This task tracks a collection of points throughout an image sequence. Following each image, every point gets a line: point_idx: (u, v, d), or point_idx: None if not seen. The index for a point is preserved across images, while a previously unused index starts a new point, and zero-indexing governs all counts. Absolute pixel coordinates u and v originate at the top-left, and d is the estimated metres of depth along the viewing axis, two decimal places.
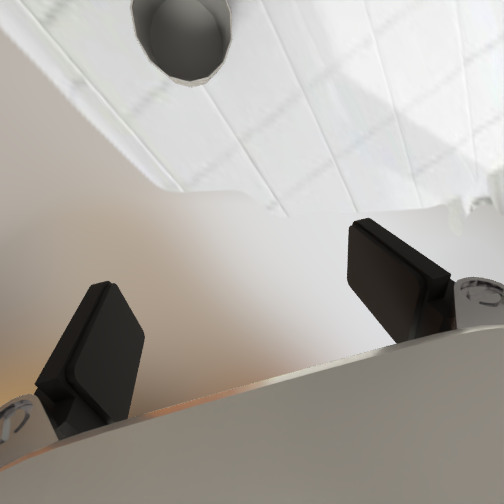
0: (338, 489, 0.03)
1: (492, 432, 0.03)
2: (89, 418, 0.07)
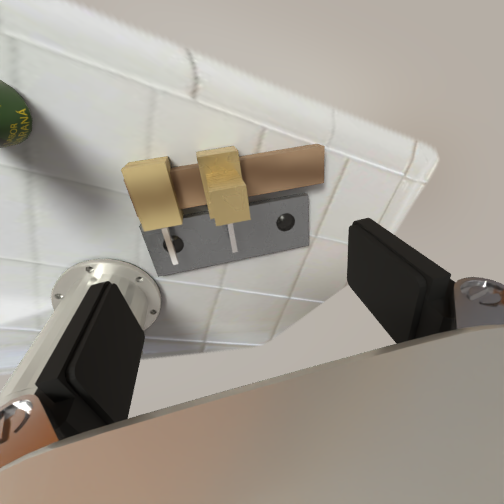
0: (338, 489, 0.03)
1: (492, 432, 0.03)
2: (89, 418, 0.07)
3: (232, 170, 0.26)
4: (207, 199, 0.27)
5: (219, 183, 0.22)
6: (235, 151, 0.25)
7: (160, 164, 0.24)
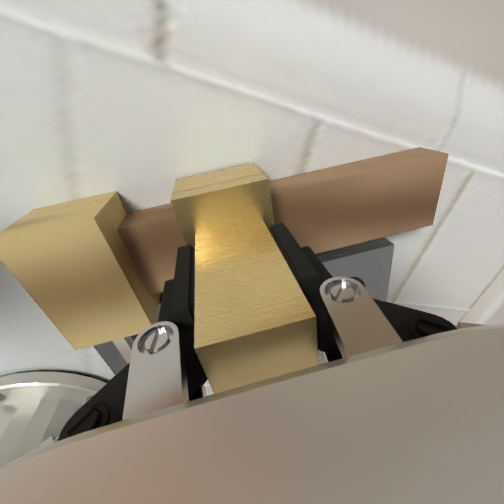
0: (338, 489, 0.03)
1: (492, 432, 0.03)
2: None
3: (254, 221, 0.11)
4: None
5: (227, 288, 0.08)
6: (262, 181, 0.11)
7: (83, 223, 0.10)
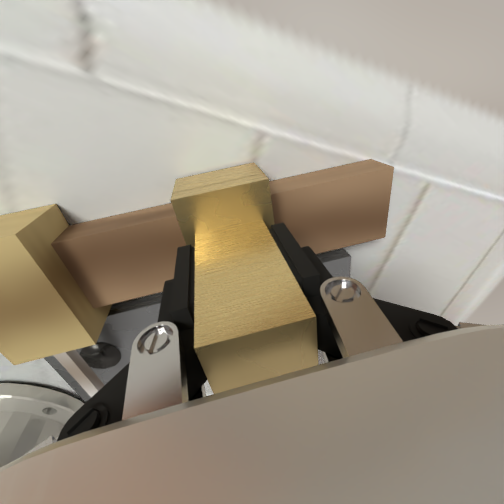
0: (338, 489, 0.03)
1: (492, 432, 0.03)
2: None
3: (254, 221, 0.11)
4: None
5: (227, 288, 0.08)
6: (262, 181, 0.11)
7: (5, 239, 0.10)
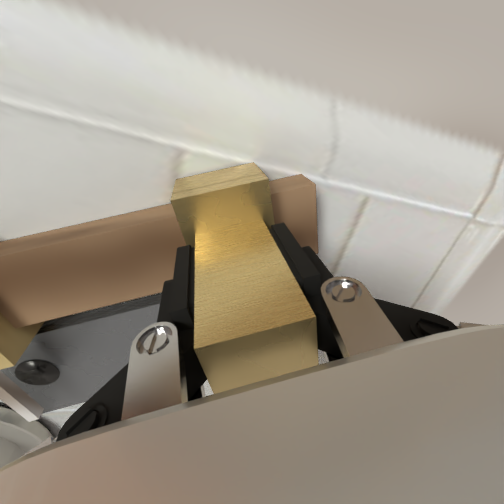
0: (338, 489, 0.03)
1: (492, 432, 0.03)
2: None
3: (254, 221, 0.11)
4: None
5: (227, 288, 0.08)
6: (262, 180, 0.11)
7: None
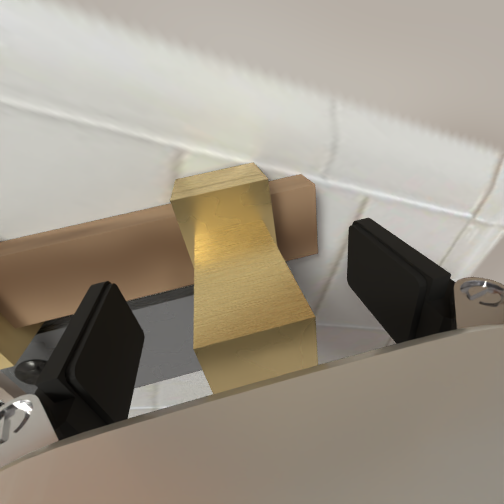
0: (338, 489, 0.03)
1: (492, 432, 0.03)
2: (89, 418, 0.07)
3: (254, 221, 0.11)
4: None
5: (227, 289, 0.08)
6: (261, 181, 0.11)
7: None
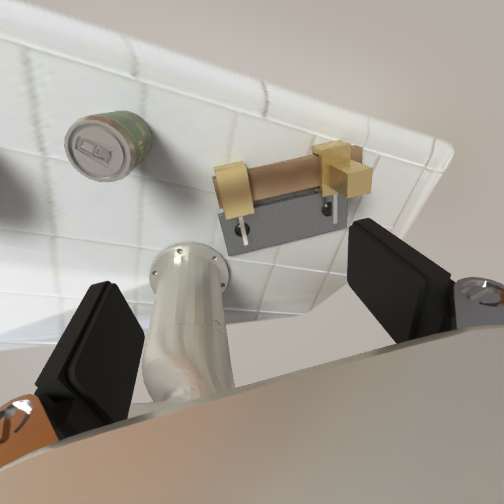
0: (339, 489, 0.03)
1: (493, 432, 0.03)
2: (89, 418, 0.07)
3: (344, 158, 0.35)
4: (323, 181, 0.36)
5: (348, 168, 0.31)
6: (348, 144, 0.34)
7: (243, 168, 0.33)
